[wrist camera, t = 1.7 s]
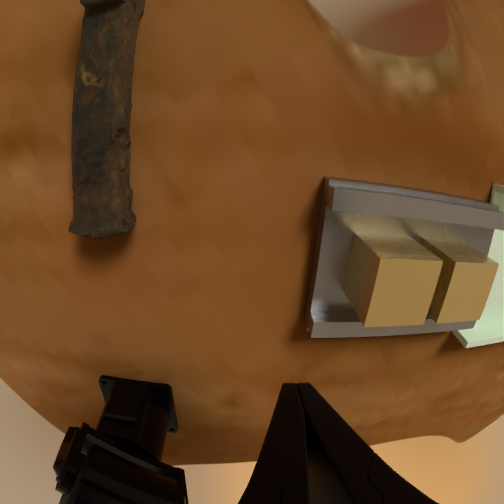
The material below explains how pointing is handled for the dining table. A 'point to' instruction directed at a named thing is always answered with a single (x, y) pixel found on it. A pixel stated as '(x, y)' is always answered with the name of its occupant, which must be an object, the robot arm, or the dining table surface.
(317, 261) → the slot rail
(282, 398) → the robot arm
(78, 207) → the wooden stick
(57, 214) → the dining table surface
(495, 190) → the tray
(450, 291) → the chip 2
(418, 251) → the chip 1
